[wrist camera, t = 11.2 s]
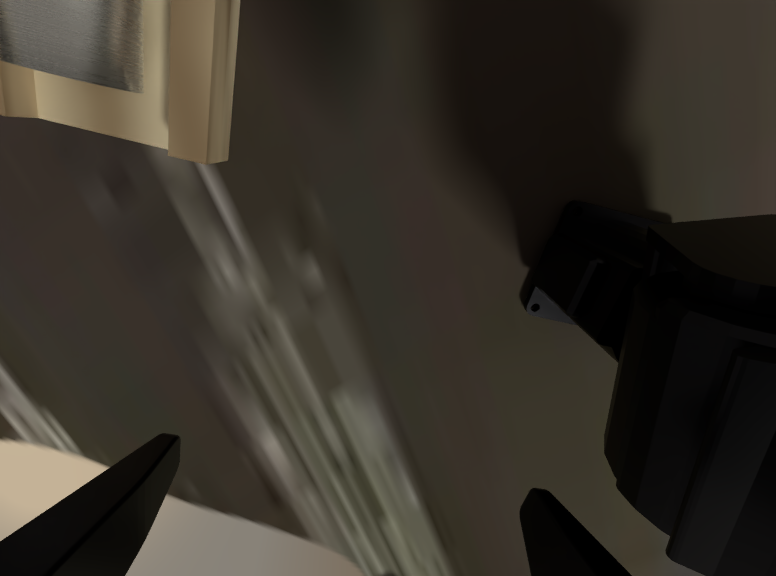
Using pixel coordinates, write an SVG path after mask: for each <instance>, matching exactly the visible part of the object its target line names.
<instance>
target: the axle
mask: <svg viewBox="0 0 776 576" xmlns="http://www.w3.org/2000/svg"><path fill="white" fill-rule="evenodd" d="M0 60H1V61H4V62H7V63H11V64H14V65H18V66H22V67H26V68H30V69H33V70H37V71H41V72H45V73H49V74H53V75H58V76H62V77H66V78H70V79H74V80H79V81H83V82H87V83H91V84H96V85H100V86H105V87H109V88H114V89H119V90H124V91H129V92H134V93H140V94H144V70H143V0H0Z"/></svg>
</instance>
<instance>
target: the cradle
mask: <svg viewBox="0 0 776 576" xmlns="http://www.w3.org/2000/svg"><path fill="white" fill-rule="evenodd" d="M239 12H240V0H143V70H144V94H140V93H134V92H129V91H124V90H119V89H114V88H109V87H105V86H100V85H96V84H91V83H87V82H83V81H79V80H74V79H70V78H66V77H62V76H58V75H53V74H49V73H45V72H41V71H37V70H33V69H30V68H26V67H22V66H18V65H14V64H11V63H7V62H4V61H1V60H0V115H3V116H10V117H30V118H41V119H45V120H49V121H53V122H57V123H61V124H65V125H70V126H74V127H78V128H82V129H86V130H90V131H94V132H98V133H102V134H107V135H111V136H115V137H119V138H123V139H127V140H131V141H135V142H139V143H144V144H148V145H152V146H156V147H160V148H164V149H168V156H172V157H177V158H181V159H185V160H189V161H193V162H197V163H201V164H212V163H218V162H223V161H228V154H229V141H230V128H231V115H232V102H233V89H234V76H235V64H236V51H237V38H238V25H239Z"/></svg>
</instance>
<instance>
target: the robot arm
mask: <svg viewBox="0 0 776 576" xmlns="http://www.w3.org/2000/svg"><path fill="white" fill-rule="evenodd" d="M576 207H578V208H579V210H578V212H577V214H575V215H573V210H574V208H576ZM532 281H533V284H532V286H531V289H530V291H529V293H528V296H527V298H526V300H525V303H524V309H525V310H526V311H527V312H528V314H530V315H532V316H537V317H541V318H546V319H551V320H555V321H560V322H565V323H569V324H574V325H578V326H579V327H580V328H581V329H582V330H583V331H584V332H586V333H587V334H588V335H589V336H590V337H591V338H592V339H593V340H594V341H595V342H596V343H597V344H598V345H600V346H601V347H602V348H603V349H604V350H605V351H606V352H607V353H608V354H609V355H610V356H611V357H612V358H614V359H615V360H616V361H617V362H618V368H617V373H616V379H615V384H614V389H613V394H612V399H611V404H610V409H609V414H608V419H607V424H606V429H605V434H604V453H605V456H606V458H607V460H608V463H609V465H610V467H611V469H612V472H613V474H614V476H615V477H616V479H617V481H616V486H617V489H618V490H619V491H620V492H621V494H622V495H623V496H624V497H625V498H626V499H627V501H628V502H629V503H630V504H631V505H632V506H633V507H634V508H635V509H636V510H637V511H638V512H639V513H641V514H642V515H643V516H644V517H645V518H647V519H648V520H649V521H650V522H651V523H652V524H654V525H655V526H656V527H657V528H659V529H660V530H661V531H663V532H664V533H666V534H667V535H669V536H670V539H669V542H668V545H667V548H666V555H667V556H668V557H669V558H670V559H671V560H672V561H674V562H676V563H678V564H680V565H683V566H685V567H687V568H690V569H692V570H694V571H696V572H699V573H701V574H703V575H705V576H776V215H773V214H770V215H757V216H746V217H735V218H723V219H712V220H700V221H689V222H677V223H666V224H665V223H662V222H658V221H654V220H650V219H646V218H642V217H639V216H635V215H631V214H627V213H623V212H620V211H616V210H612V209H608V208H604V207H600V206H597V205H593V204H589V203H585V202H581V201H576V200H574V201H571V202H569V203H568V204H567V205H566V207H565V209H564V211H563V213H562V216H561V218H560V220H559V223H558V225H557V227H556V230H555V232H554V234H553V236H552V237H551V238H549V240H548V242H547V245H546V247H545V249H544V252H543V254H542V256H541V259H540V261H539V264H538V266H537V268H536V271H535V273H534V275H533V278H532ZM533 304H537V306H536V307H535V308H533V309H531V306H532V305H533ZM180 444H181V439H180V437H179V436H178V435H173V434H166V433H162V434H160V435H158V436H156V437H155V438H153V439H152V440H150V441H149V442H147V443H146V444H144V445H143V446H141V447H140V448H138V449H137V450H135V451H134V452H132V453H131V454H129V455H128V456H127V457H125V458H124V459H122V460H121V461H119V462H118V463H116V464H115V465H113V466H112V467H110V468H109V469H107V470H106V471H104V472H103V473H101V474H100V475H98V476H97V477H95V478H94V479H92V480H91V481H89V482H88V483H86V484H85V485H84V486H82V487H80V488H79V489H78V490H76V491H75V492H73V493H72V494H70V495H69V496H67V497H66V498H64V499H63V500H61V501H60V502H58V503H57V504H55V505H54V506H52V507H51V508H49V509H48V510H46V511H45V512H44V513H42V514H40V515H39V516H37V517H36V518H35V519H33V520H31V521H30V522H29V523H27V524H26V525H24V526H23V527H21V528H20V529H18V530H17V531H15V532H14V533H12V534H11V535H9V536H8V537H6V538H5V539H3V540H2V541H0V576H125V575H126V573H127V571H128V570H129V568H130V566H131V564H132V563H133V561H134V559H135V558H136V556H137V554H138V552H139V551H140V548H141V547H142V545H143V543H144V541H145V539H146V537H147V535H148V533H149V531H150V529H151V527H152V525H153V522H154V520H155V518H156V516H157V514H158V511H159V509H160V507H161V505H162V503H163V500H164V498H165V496H166V494H167V492H168V489H169V487H170V485H171V483H172V481H173V478H174V476H175V474H176V472H177V469H178V466H179V462H180ZM520 522H521V527H522V532H523V537H524V542H525V547H526V552H527V557H528V562H529V568H530V573H531V576H632V575H631V574H630V573H629V572H628V571H627V570H626V569H625V568H624V567H623V566H622V565H621V564H620V563H619V562H618V561H617V560H616V559H615V558H614V557H613V556H612V555H611V554H610V553H609V552H608V551H607V550H606V549H605V548H604V547H603V546H602V545H601V544H600V543H599V542H598V541H597V540H596V539H595V538H594V537H593V536H592V535H591V533H590V532H589V531H588V530H587V529H586V528H585V527H584V526H583V525H582V524H581V523H580V522H579V521H578V520H577V519H576V518H575V517H574V516H573V515H572V514H571V513H570V512H569V511H568V510H567V509H566V508H565V507H564V506H563V505H562V504H561V503H560V502H559V501H558V500H557V499H556V498H555V497H554V496H553V495H552V494H551V493H550V492H549V491H548V490H545V489H539V488H532V489H531V490H530V491H529V493H528V495H527V497H526V498H525V500H524V502H523V504H522V506H521V508H520Z"/></svg>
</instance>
